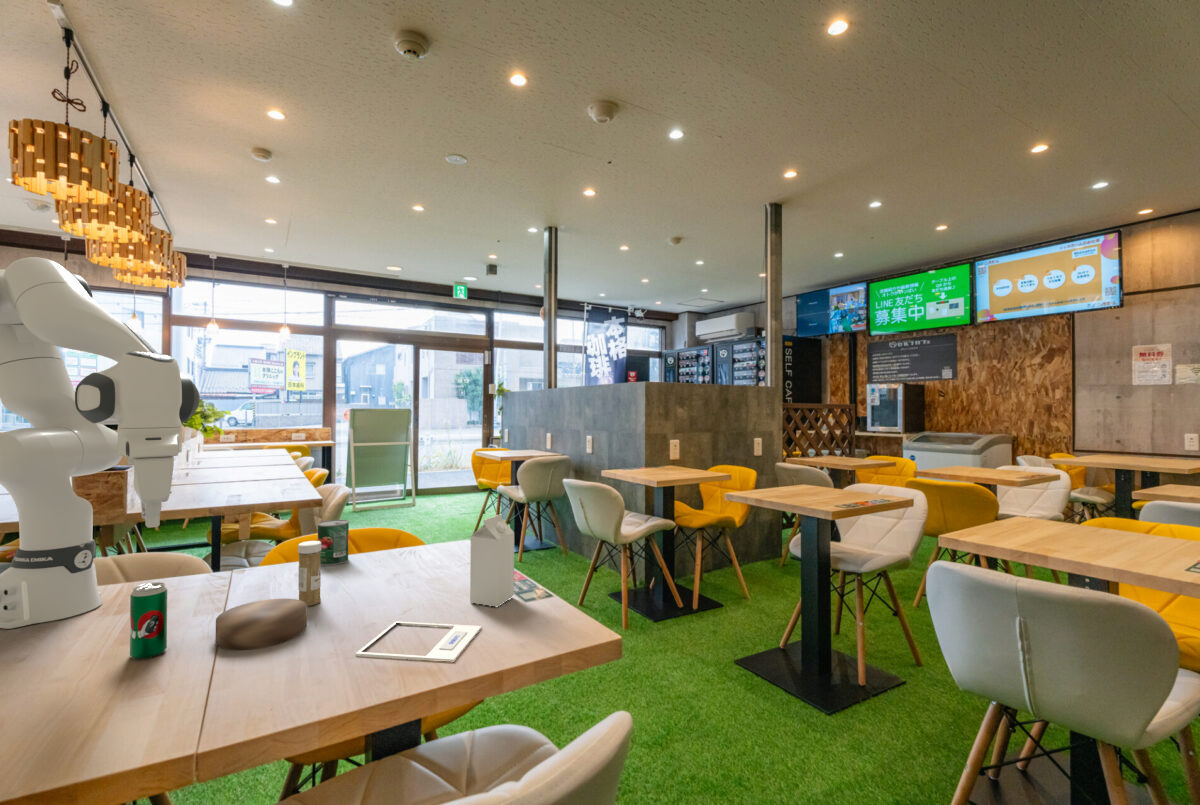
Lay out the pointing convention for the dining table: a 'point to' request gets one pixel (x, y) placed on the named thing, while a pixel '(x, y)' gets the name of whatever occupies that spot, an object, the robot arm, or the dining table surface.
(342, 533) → the canned tomato
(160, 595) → the soda can
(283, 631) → the walnut riser
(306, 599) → the sprinkles bottle
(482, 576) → the milk carton
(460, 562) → the dining table surface
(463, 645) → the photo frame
